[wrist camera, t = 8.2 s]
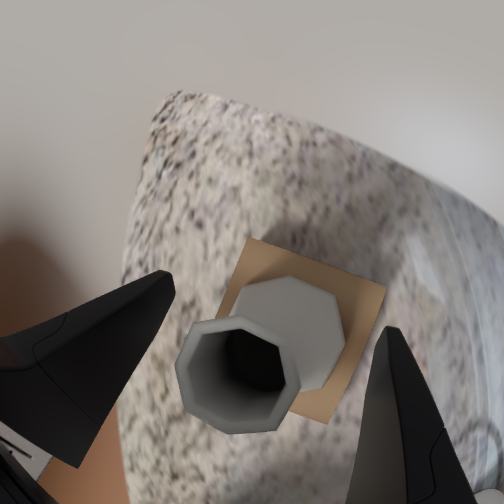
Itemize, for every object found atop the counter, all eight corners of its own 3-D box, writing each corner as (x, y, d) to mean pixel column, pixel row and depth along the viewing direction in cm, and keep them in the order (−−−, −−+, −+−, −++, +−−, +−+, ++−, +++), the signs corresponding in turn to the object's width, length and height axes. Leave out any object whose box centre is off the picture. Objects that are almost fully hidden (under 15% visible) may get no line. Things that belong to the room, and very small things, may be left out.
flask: (231, 270, 17) (131, 224, 8) (351, 280, 15) (401, 239, 6) (217, 384, 16) (115, 448, 6) (335, 401, 14) (350, 506, 5)
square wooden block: (326, 408, 17) (327, 424, 14) (211, 360, 19) (195, 367, 17) (376, 290, 18) (387, 287, 15) (258, 246, 20) (248, 236, 17)
